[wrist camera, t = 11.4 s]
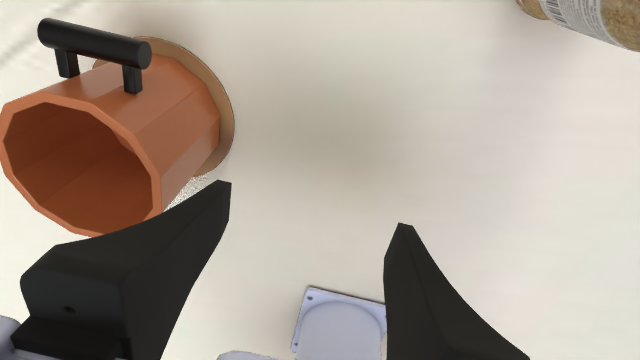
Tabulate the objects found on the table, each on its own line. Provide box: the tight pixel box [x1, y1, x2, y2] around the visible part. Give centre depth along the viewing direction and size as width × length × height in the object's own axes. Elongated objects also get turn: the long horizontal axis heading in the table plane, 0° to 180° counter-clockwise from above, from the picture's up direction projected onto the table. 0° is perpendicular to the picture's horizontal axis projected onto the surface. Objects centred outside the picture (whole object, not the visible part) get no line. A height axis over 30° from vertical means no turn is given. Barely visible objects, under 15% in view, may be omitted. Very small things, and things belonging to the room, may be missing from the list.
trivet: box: [92, 37, 234, 177], centre depth 25 cm, size 10×10×1 cm
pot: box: [0, 18, 220, 238], centre depth 20 cm, size 11×8×8 cm
